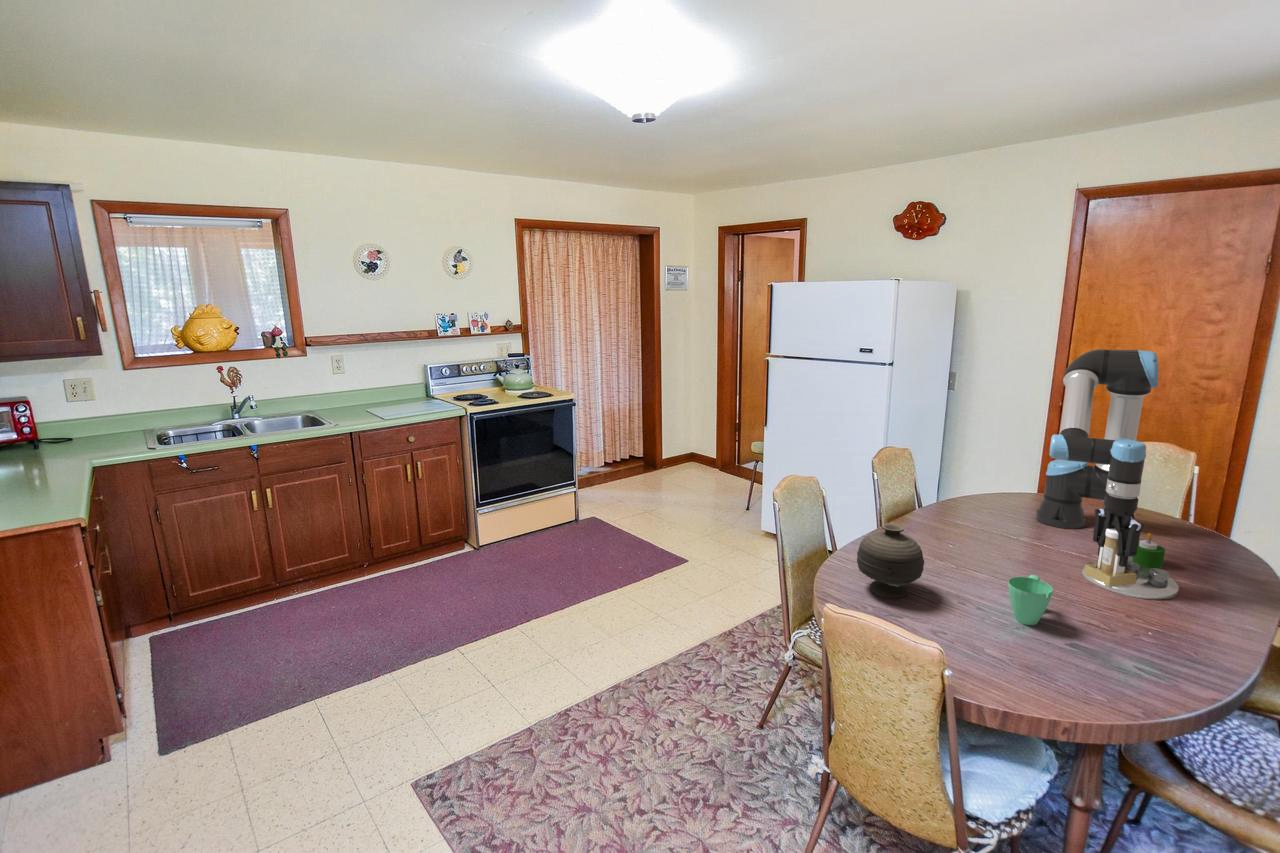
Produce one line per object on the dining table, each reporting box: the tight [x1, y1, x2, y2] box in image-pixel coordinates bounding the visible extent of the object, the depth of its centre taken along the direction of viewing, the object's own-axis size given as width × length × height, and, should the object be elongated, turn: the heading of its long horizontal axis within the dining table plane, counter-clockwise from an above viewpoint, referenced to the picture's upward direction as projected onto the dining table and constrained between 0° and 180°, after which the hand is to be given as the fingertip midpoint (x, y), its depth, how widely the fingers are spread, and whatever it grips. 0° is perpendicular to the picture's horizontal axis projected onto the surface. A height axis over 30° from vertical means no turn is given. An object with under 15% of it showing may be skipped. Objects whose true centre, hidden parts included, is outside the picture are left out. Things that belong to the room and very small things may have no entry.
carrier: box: [1081, 556, 1179, 601], centre depth 180 cm, size 22×22×6 cm
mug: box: [1007, 574, 1054, 626], centre depth 162 cm, size 15×10×10 cm
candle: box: [1132, 532, 1166, 569], centre depth 191 cm, size 8×8×10 cm
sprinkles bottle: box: [1101, 527, 1119, 575], centre depth 178 cm, size 5×5×13 cm
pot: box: [856, 522, 925, 600], centre depth 177 cm, size 18×18×20 cm
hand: (1110, 571), depth 179 cm, fingers closed on sprinkles bottle, 4 cm apart
